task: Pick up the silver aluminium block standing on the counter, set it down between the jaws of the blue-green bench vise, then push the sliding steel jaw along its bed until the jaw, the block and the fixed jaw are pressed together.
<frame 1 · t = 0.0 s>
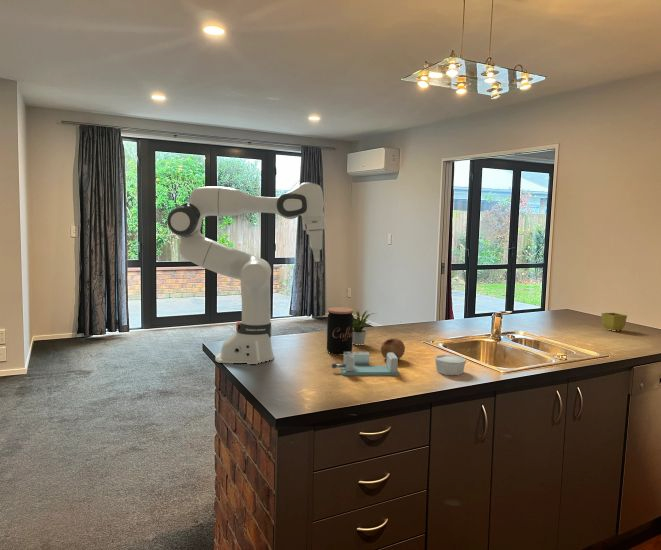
hand: (316, 260, 190), 39 cm above the counter, tool pointing down, fingers open, 8 cm apart
block: (360, 365, 185), on the counter
coffee jar: (339, 352, 204), on the counter
jaw: (342, 361, 176), point 4 cm above the counter, slide at 0.0 cm
vise: (369, 372, 177), on the counter
flower pot: (612, 331, 262), on the counter
ramekin: (449, 372, 180), on the counter
house plant: (360, 344, 218), on the counter
onion: (392, 360, 194), on the counter
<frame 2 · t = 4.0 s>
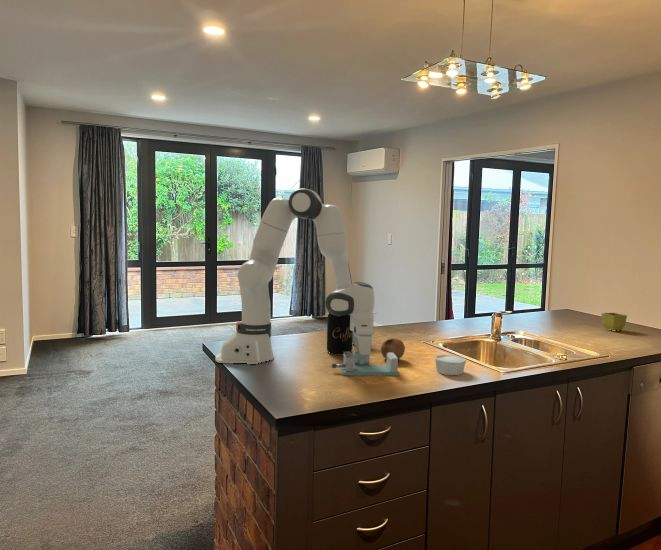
hand: (360, 361, 185), 2 cm above the counter, tool pointing down, fingers closed on block, 4 cm apart
block: (360, 365, 185), on the counter, touching gripper
everything else where it was.
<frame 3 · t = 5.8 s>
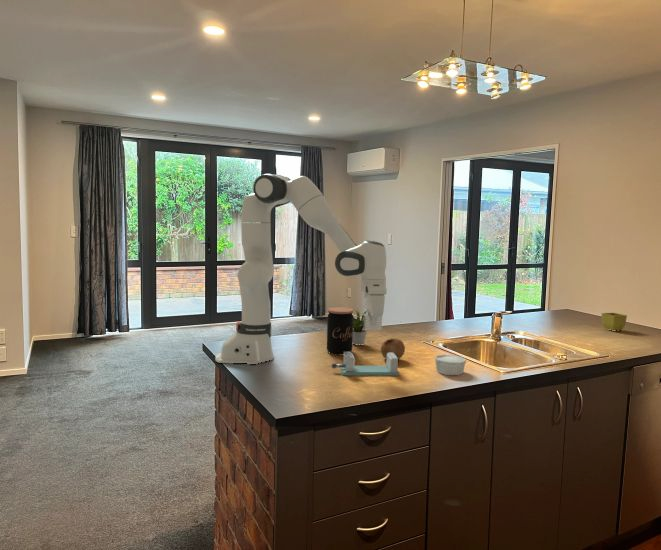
hand: (372, 324, 176), 17 cm above the counter, tool pointing down, fingers closed on block, 4 cm apart
block: (372, 328, 176), point 16 cm above the counter, touching gripper
everything else where it was.
when the fingers open (4 cm above the counter, at t = 7.7 s): block drops 1 cm, resting on vise.
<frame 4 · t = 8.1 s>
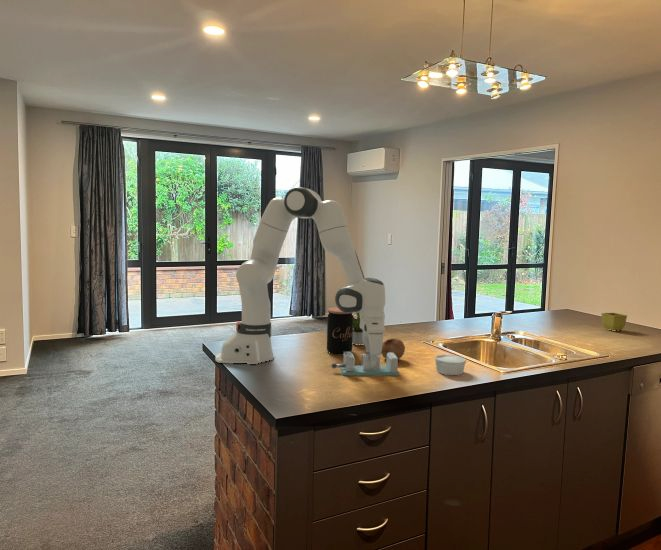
hand: (370, 361, 177), 4 cm above the counter, tool pointing down, fingers open, 8 cm apart
block: (370, 368, 177), point 1 cm above the counter, touching vise
everything else where it was.
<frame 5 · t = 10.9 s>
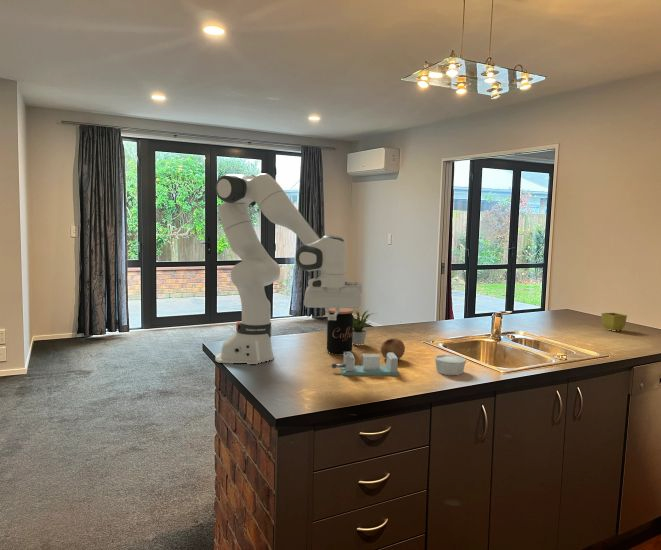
hand: (332, 320, 174), 19 cm above the counter, tool pointing down, fingers closed
nothing on the counter moved.
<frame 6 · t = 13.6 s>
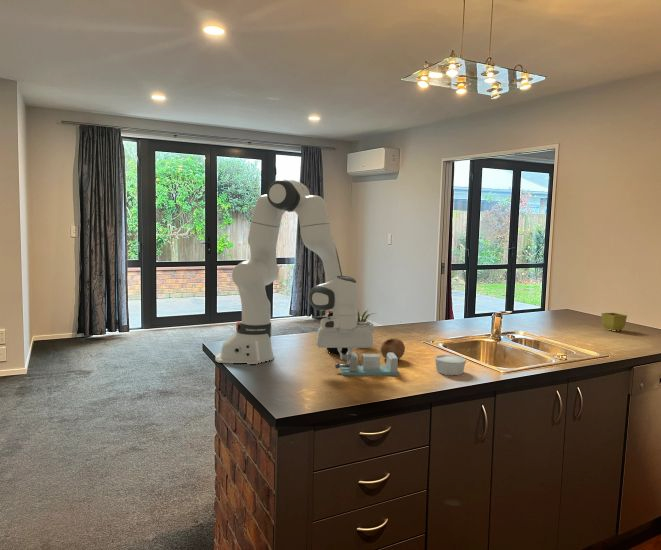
hand: (344, 359, 176), 5 cm above the counter, tool pointing down, fingers closed
jaw: (346, 361, 176), point 4 cm above the counter, slide at 1.3 cm, touching gripper
everything else where it was.
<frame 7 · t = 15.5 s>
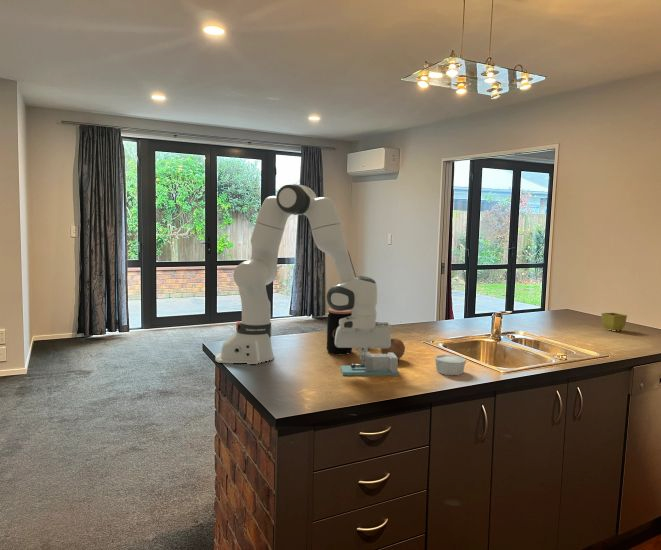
hand: (361, 359, 176), 5 cm above the counter, tool pointing down, fingers closed, pressing on jaw
block: (380, 368, 178), point 1 cm above the counter, touching jaw, vise
jaw: (361, 361, 177), point 4 cm above the counter, slide at 6.9 cm, touching block, gripper
everything else where it was.
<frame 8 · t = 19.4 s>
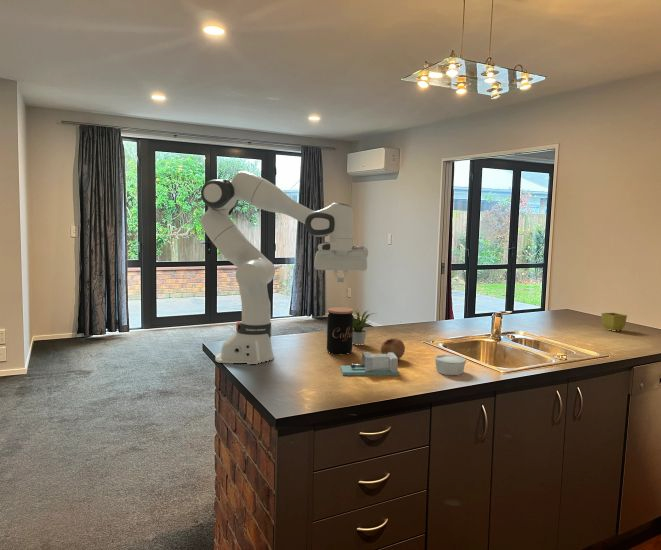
hand: (340, 281, 187), 31 cm above the counter, tool pointing down, fingers closed
jaw: (361, 361, 177), point 4 cm above the counter, slide at 6.9 cm, touching block
everything else where it was.
at the end: jaw slide at 6.9 cm; block 0.8 cm from the target spot, point 1.2 cm above the counter; block tilted 0° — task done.
